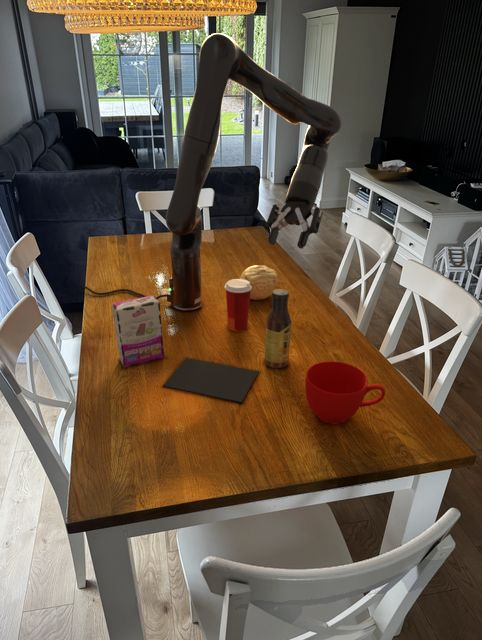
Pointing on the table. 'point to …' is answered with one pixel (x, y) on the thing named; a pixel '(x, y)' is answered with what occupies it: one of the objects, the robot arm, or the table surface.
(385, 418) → the table surface
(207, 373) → the placemat
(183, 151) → the robot arm
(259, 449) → the table surface
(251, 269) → the sculpture
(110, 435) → the table surface
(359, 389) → the ceramic cup
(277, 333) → the sauce bottle
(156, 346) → the candy bar box
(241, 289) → the paper cup
